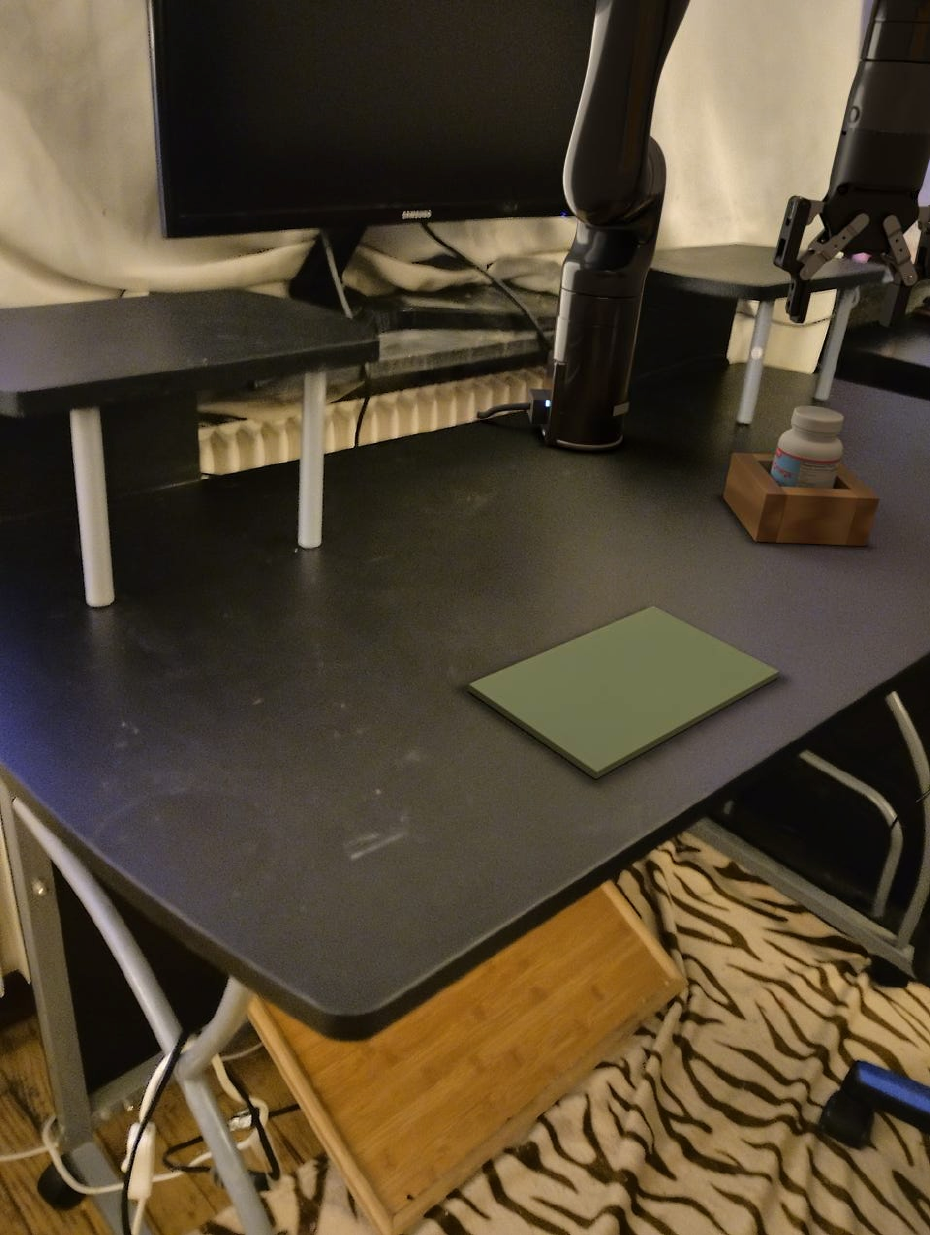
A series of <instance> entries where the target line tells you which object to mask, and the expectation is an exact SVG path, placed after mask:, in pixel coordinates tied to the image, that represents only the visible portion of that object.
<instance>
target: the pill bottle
mask: <svg viewBox="0 0 930 1235" xmlns="http://www.w3.org/2000/svg"><path fill="white" fill-rule="evenodd" d="M790 422H791V423H790V425H791V427H792V428H789V429H788V430H786V431H784V432H783V433H782V434H781V435H780V437H779V439H778V441H777V446H776V449H775V452H774V453H775V454H774V455H775V457H774V461H773V466H772V470H771V474H770V476H771V477H772V478H773V479H774V480H775V481H776V483H777V484H778V485H779V486H780V487H801V488H823V489H833V486H834V482H835V479H836V475H837V471H838V468H839V464H840V462H841V460H842V456H843V452H844V446H843V443H842V441H841V440H840V439H839V437H837V435H839V434H840V432H841V430H842V427H843V422H844V416H843V415H842V413H841V412H838V411H836V410H834V409H830V408H827V407H823V406H815V405H799V406H796V407H795V408H794V409H793V413H792V416H791V418H790Z"/></svg>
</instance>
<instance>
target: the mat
mask: <svg viewBox="0 0 930 1235" xmlns="http://www.w3.org/2000/svg"><path fill="white" fill-rule="evenodd" d="M779 675H780V670H778V669H776V668H775V667H772V666H770V665H768V664H766V663H764V662H762V661H761V660H759V659H757V658H755V657H753V656H751V655H749V654H747V653H745V652H743V651H742V650H739V649H737V648H736V647H734V646H732V645H729V644H728V643H726V642H724V641H722V640H720V639H718V638H716V637H715V636H713V635H711V634H708V633H707V632H704V631H703V630H701V629H699V628H696V627H695V626H693V625H691V624H689V623H687V622H685V621H683V620H681V619H679V618H678V617H676V616H673V615H672V614H670V613H669V612H666V611H664V610H662V609H660V608H658V607H656V606H654V605H652V606H649V607H647V608H645V609H642V610H639V611H637V612H635V613H633V614H631V615H628V616H625V617H624V618H621V619H618V620H617V621H614V622H612V623H609V624H607V625H605V626H602V627H600V628H598V629H595V630H593V631H590V632H588V633H585V634H584V635H580V636H579V637H576V638H573V639H571V640H569V641H567V642H565V643H561V644H560V645H558V646H555V647H553V648H550V649H548V650H545V651H543V652H541V653H538V654H536V655H533V656H532V657H528V658H526V659H524V660H521V661H519V662H517V663H514V664H512V665H510V666H508V667H506V668H503V669H500V670H498V671H496V672H494V673H491V674H489V675H486V676H485V677H482V678H480V679H477V680H475V681H473V682H470V683H468V687H467V688H468V690H467V691H468V692H469V693H470V694H472V695H474V696H475V697H477V698H478V699H480V700H481V701H482V702H484V703H485V704H487V705H488V706H490V707H491V708H493V709H494V710H495V711H496V712H498V713H499V714H501V715H502V716H504V717H505V718H507V719H508V720H509V721H511V722H512V723H514V724H516V725H517V726H518V727H519V728H521V729H523V730H524V731H525V732H527V733H528V734H530V735H531V736H532V737H533V738H535V739H536V740H538V741H539V742H541V743H543V744H544V745H546V746H547V747H549V748H550V749H551V750H553V751H554V752H556V753H557V754H558V755H559V756H562V757H563V758H564V759H566V760H567V761H568V762H570V763H572V764H573V765H574V766H576V767H578V768H579V769H581V770H582V771H583V772H584V773H586V774H588V775H589V776H590V777H592V778H593V779H595V780H597V779H598V778H601V777H602V776H604V775H606V774H608V773H609V772H612V771H613V770H614V769H615V770H616V769H617V768H618V767H620V766H622V765H625V764H626V763H628V762H629V761H631V760H632V759H635V758H636V757H638V756H640V755H642V754H643V753H645V752H647V751H649V750H651V749H652V748H654V747H656V746H658V745H659V744H661V743H663V742H665V741H667V740H668V739H671V738H672V737H674V736H675V735H678V734H679V733H682V732H683V731H685V730H686V729H688V728H690V727H691V726H693V725H696V724H697V723H699V722H701V721H703V720H704V719H706V718H708V717H709V716H712V715H714V714H715V713H717V712H719V711H720V710H722V709H724V708H726V707H729V705H732V704H733V703H735V702H736V701H738V700H740V699H742V698H745V696H747V695H749V694H751V693H752V692H754V691H756V690H758V689H760V688H761V687H763V686H765V685H767V684H769V683H771V682H773V681H774V680H775V679H778V678H779Z"/></svg>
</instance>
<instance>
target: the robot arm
mask: <svg viewBox="0 0 930 1235" xmlns="http://www.w3.org/2000/svg"><path fill="white" fill-rule="evenodd" d="M690 2H691V0H596V4H595V11H594V18H593V25H592V32H591V41H590V48H589V56H588V63H587V69H586V74H585V79H584V82H583V88H582V92H581V96H580V100H579V104H578V108H577V111H576V115H575V120H574V123H573V127H572V131H571V135H570V139H569V143H568V146H567V150H566V154H565V158H564V163H563V169H562V189H563V195H564V198H565V201H566V204H567V206H568V208H569V210H570V212H571V213H572V214H573V215H574V216H575V218H577V224H576V228H575V229H576V230H575V235H574V238H573V242H572V243H571V246H570V249H569V251H568V252H567V254H566V255H565V257H564V259H563V262H562V264H561V270H560V278H559V286H558V287H559V288H558V297H557V306H556V315H555V324H554V332H553V340H552V342H553V343H552V349H550V350H549V351H548V355H547V366H546V373H545V374H546V375H545V384H544V388H529V389H528V395H527V396H528V398H527V402H517V403H516V402H514V403H504V404H499V405H494V406H493V407H490V408H488V409H487V410H485V411H480V410H478V411H477V413H476V419H478V420H485V419H489V418H491V417H492V416H493V417H494V415H496V414H498V413H504V412H511V411H512V412H513V411H514V412H516V411H526V413H527V416H528V419H529V423H530V424H531V425H540V431H541V433H542V437H543V439H544V442H545V444H546V445H548V446H556V447H560V448H564V449H568V450H574V451H580V452H581V451H582V452H603V451H610V450H613V449H616V448H618V447H619V446H621V444H622V440H623V435H622V434H623V430H624V423H625V422H624V421H625V416H626V413H628V412H629V406H630V402H629V401H628V396H629V395H628V394H629V388H630V383H631V377H632V376H631V375H632V368H633V362H634V355H635V348H636V342H637V336H638V328H639V323H640V322H639V321H640V316H641V311H642V310H641V309H642V303H643V295H644V290H645V284H646V279H647V276H648V273H649V270H650V268H651V265H652V263H653V259H654V256H655V251H656V247H657V241H658V236H659V229H660V224H661V219H662V212H663V208H664V201H665V196H666V189H667V178H668V176H667V175H668V174H667V162H666V158H665V155H664V151H663V150H662V147H661V145H660V144H659V143H658V141H657V140H656V139H655V138H654V137H653V136H651V129H652V124H653V123H652V122H653V116H654V108H655V102H656V97H657V93H658V88H659V83H660V79H661V77H662V76H661V75H662V72H663V69H664V66H665V63H666V60H667V58H668V56H669V53H670V51H671V49H672V46H673V44H674V42H675V39H676V37H677V35H678V33H679V30H680V27H681V25H682V23H683V21H684V18H685V16H686V13H687V12H688V8H689V5H690ZM867 22H868V23H867V26H866V31H865V35H864V40H863V44H862V48H861V53H860V58H859V62H858V65H857V68H856V71H855V75H854V78H853V79H852V80H853V81H852V83H851V86H850V89H849V92H848V96H847V100H846V105H845V109H844V114H843V118H842V123H841V127H840V132H839V136H838V141H837V145H836V149H835V154H834V159H833V164H832V168H831V173H830V177H829V184H828V189H827V191H826V193H825V195H824V197H822V200H819V199H811V198H806V197H804V196H801V195H797V194H794V195H792V196H790V197H789V198H788V201H787V204H786V207H785V212H784V215H783V220H782V223H781V227H780V231H779V233H778V234H779V235H778V239H777V241H776V242H777V243H776V247H775V249H774V254H773V257H772V264H773V266H775V267H776V268H779V269H780V270H782V271H784V272H786V273H788V274H789V276H790V283H789V287H788V292H787V296H786V301H785V306H784V308H785V313H786V314H787V315H788V317H789V321H791V322H792V323H794V324H803V325H804V324H805V322H806V318H807V314H808V309H809V305H810V300H811V296H812V292H813V289H814V288H813V287H814V283H815V282H814V281H813V280H812V277H813V276H815V274H817V272H818V271H819V270H820V269H821V268H822V267H823V266H824V265H825V264H826V263H829V262H831V261H832V260H833V259H834V258H835V257H836V256H837V255H838V254H839V253H841V254H844V255H850V256H855V255H859V254H866V255H869V256H871V257H881V258H882V259H883V261H884V262H885V263H886V265H887V268H888V270H889V272H890V275H891V277H892V279H893V280H892V281H888V282H887V287H886V290H885V295H884V298H883V302H882V306H881V311H880V314H879V318H878V323H879V325H881V326H883V327H885V328H888V329H889V328H890V329H894V328H896V327H897V324H898V322H902V320H903V319H904V317H905V315H906V311H907V308H908V304H909V300H910V298H911V297H910V296H911V293H912V290H913V287H914V285H916V284H917V283H919V282H921V281H924V280H927V279H928V280H930V204H928V205H927V206H925V205H924V206H923V205H922V206H921V205H920V204H919V195H920V193H921V190H922V188H923V187H924V183H925V180H926V175H927V172H928V168H929V164H930V0H873V2H872V5H871V8H870V12H869V16H868V21H867ZM817 216H819V218H820V221H821V223H822V226H823V229H822V230H821V231H820V232H819V233H818V234H817V235H816V236H815V237H814V238H813V239H812V240H811V241H810V243H809V244H807V248H806V249H805V251H804V252H802V253H801V255H800V256H799V253H800V249H801V246H802V242H803V239H804V234H805V230H806V228H807V226H810V225H811V224H812V223H813V221H814V220H815V218H816V217H817ZM915 223H917V228H918V230H919V231H920V235H919V240H918V244H917V249H916V252H915V253H916V254H915V258H914V263H913V261H912V254H911V251H910V248H909V247H908V243H907V241H906V239H905V237H904V235H905V234H906V233H907V232H908V231H909V229H910V228H912V226H913V225H915Z"/></svg>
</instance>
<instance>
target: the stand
mask: <svg viewBox="0 0 930 1235" xmlns="http://www.w3.org/2000/svg"><path fill="white" fill-rule="evenodd" d="M774 457H775V454H770V453H769V454H767V453H750V452H749V453H748V452H732V454H731V458H730V463H729V468H728V473H727V477H726V482H725V488H724V492H723V497H722V498H723V499H724V500H725V502H726V503H727V505H728V506H729V508H730V509H731V510H732V511H733V513H734V515H735V516H736V518H738V520H739V521H740V523H741V524H742V526H743V527H744V528H745V529H746V531H747V532H748V534H749V535H750V537H751V538H752V540H754V542H756V543H778V544H779V543H780V544H802V545H805V544H806V545H807V544H808V545H825V546H826V545H828V546H830V545H831V546H848V547H849V546H853V547H866V546H867V544H868V540H869V537H870V533H871V530H872V526H873V524H874V521H875V517H876V513H877V510H878V506H879V503H880V500H881V498H880V497H879V496H878V495H877V494H876V493H875V492H874V491H873V490H871V488H869V487H868V485H866V484H865V483H864V482H862V480H860V479H859V478H858V476H856V475H855V474H854V473H853V472H852V471H851V470H850V469H849V468H848V467H846V466H845V465H844V464H843V463H842V462H841V461H840V464H839V468H838V471H837V475H836V479H835V482H834V486H833V489H823V488H801V487H780V486H779V485H778V484H777V483H776V481H775V480H774V479H773V478H772V477H771V476H770V474H771V470H772V466H773V461H774Z"/></svg>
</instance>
